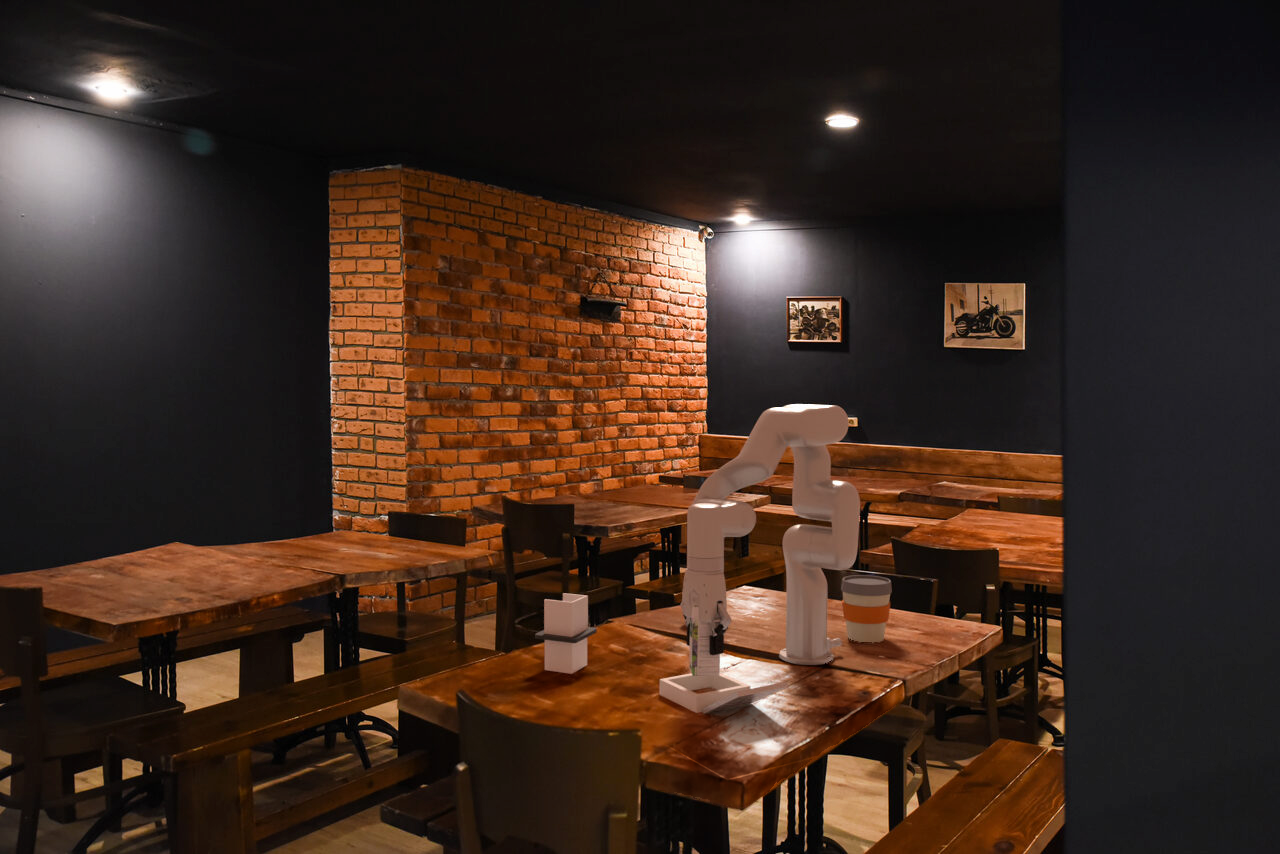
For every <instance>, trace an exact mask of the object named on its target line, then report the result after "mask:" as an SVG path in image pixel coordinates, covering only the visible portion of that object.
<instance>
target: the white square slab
mask: <svg viewBox="0 0 1280 854" xmlns="http://www.w3.org/2000/svg"><path fill="white" fill-rule="evenodd" d="M788 687H789V686H788V683H787V681H782V682H779V683H778V682H777V683H772V684H769V685H764V686H758V687H754V688H750V689H748V690H743V691H738V692H735V693H733V694H731V695H729V696H727V697H725V698H723V699H721V700H719V701H717V702H715V703H713V704H711V705H709V706H707V707H705V708H703V709H702V711H703V712H702V713H703V714H704V715H705V714H710V713H715V712H719V711H724V710H728V709H733V708H737V707H742V706H747V705H751V704H754V703H755V702H759V701H760V700H762V699H765V698H767V697H769V696H771V695H773V694H776V693H778V692H779V691H782V690H784V689H786V688H788Z"/></svg>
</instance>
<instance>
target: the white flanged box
mask: <svg viewBox="0 0 1280 854" xmlns="http://www.w3.org/2000/svg"><path fill="white" fill-rule="evenodd" d="M543 601H544V604H543V607H544V609H543V611H544V612H543V614H544V615H543V616H544V617H543V619H544V620H543V624H544V627H543V628H544V629H543V630H540V631H539V632H538V631H537V632H536V633H535V634H534V638H535V639H537V640H543V641H544V671H549V672H558V673H564V674H569V675H570V674H572V675H573V674H574V673H576V672H577V671H579V670H581V669H583V668H584V667H586V666H588V638H589V637H591V636H593V635H595V634H596V633H597V632H598V631H597V630H598V629H597V627H591V626H589V609H588V608H589V595H584V594H574V593H564V592H563V593H562V600H557V599H548V598H547V599H546V598H545V599H544V600H543Z"/></svg>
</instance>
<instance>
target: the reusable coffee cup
mask: <svg viewBox="0 0 1280 854" xmlns="http://www.w3.org/2000/svg"><path fill="white" fill-rule="evenodd" d="M840 591H841V592H842V600H841V603H842V613H843V619H844V620H845V625H846V627H845V628H846V633H847V634H846V635H847V639H848V638H849V639H848V640H850V639H851V640H850V641H852V640H854V641H853V642H855V641H859V642H858V643H861V642H872V643H871V644H875V643H874V642H878V643H881V641H882V642H883V641H884V639H885V633H886V632H885V631H886V625H887V622H888V621H889V615H890V610H891V601H890V597H891V594H892V593H893V590H892V581H891V579H890V578H888V577H883V576H879V575H869V574H868V575H866V574H863V575H862V574H858V575H857V574H856V575H848V576H844V577H842V579H841V587H840Z"/></svg>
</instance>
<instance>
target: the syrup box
mask: <svg viewBox="0 0 1280 854" xmlns="http://www.w3.org/2000/svg"><path fill="white" fill-rule="evenodd" d="M698 607H699V606H696V605H693V609H692V618H690V646H689V653H688V655H689V659H688V661H689V664H688V665H689V666H688V667H689V671H690V674H691V673H692V675H693V676H712V675H720V673H721V672H720V670H721V668H720V667H721V666H720V665H721V654H717V655H710V653H709V644H710V635H712V633H711V630H710V627H709V623H703V622H700V621H699V608H698ZM719 617H720V615H719V614H718V612H716V616H715V618H714V620H715V619H719ZM718 625H719V623H715V628H717V626H718Z"/></svg>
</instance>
